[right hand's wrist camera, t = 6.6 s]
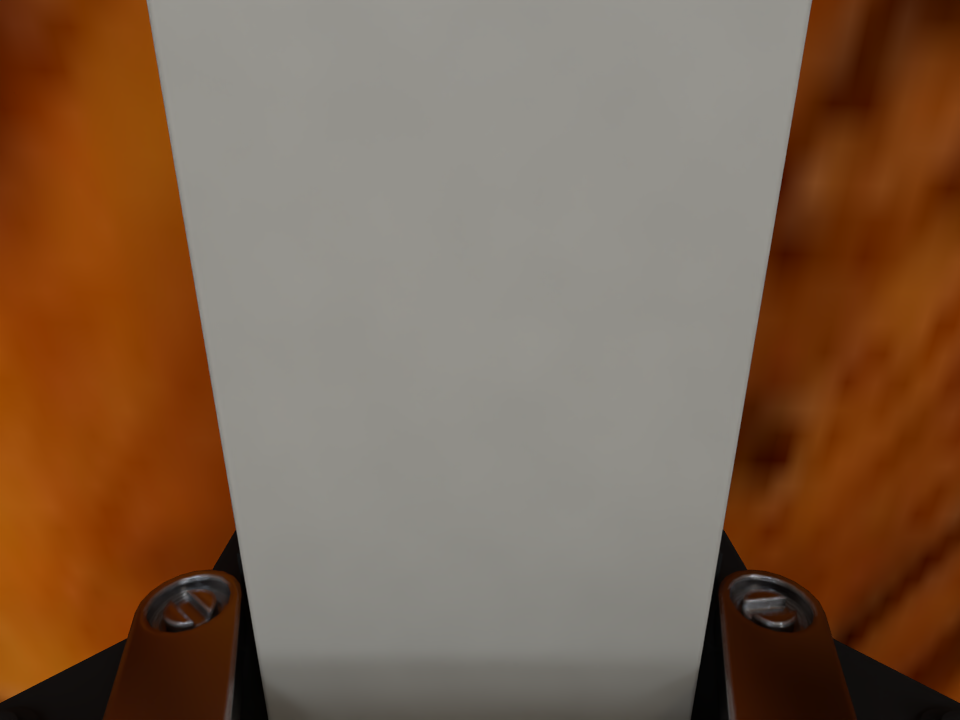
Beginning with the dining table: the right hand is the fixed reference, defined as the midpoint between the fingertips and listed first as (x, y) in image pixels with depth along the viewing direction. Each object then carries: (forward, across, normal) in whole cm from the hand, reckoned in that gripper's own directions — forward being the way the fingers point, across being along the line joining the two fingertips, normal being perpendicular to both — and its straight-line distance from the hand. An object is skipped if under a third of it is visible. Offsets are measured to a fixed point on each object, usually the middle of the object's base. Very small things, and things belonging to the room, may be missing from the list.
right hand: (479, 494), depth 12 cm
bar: (+2, 0, +22) cm, 22 cm away
